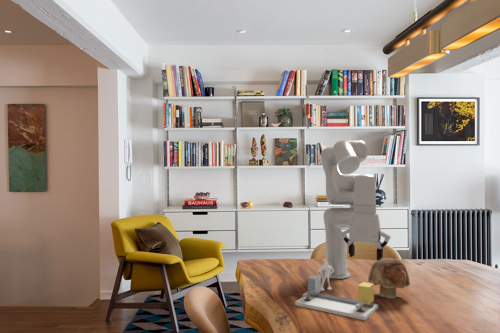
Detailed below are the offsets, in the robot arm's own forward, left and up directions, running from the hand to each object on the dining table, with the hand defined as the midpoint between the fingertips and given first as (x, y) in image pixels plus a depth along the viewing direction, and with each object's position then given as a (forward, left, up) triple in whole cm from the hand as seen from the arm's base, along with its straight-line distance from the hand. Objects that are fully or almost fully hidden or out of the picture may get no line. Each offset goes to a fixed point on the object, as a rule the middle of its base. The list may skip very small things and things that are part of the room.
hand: (365, 257), depth 137 cm
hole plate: (+3, -10, -18) cm, 21 cm away
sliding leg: (+3, 0, -17) cm, 17 cm away
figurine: (-13, -21, -18) cm, 31 cm away
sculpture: (-18, +3, -18) cm, 26 cm away
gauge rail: (+3, -10, -17) cm, 20 cm away
